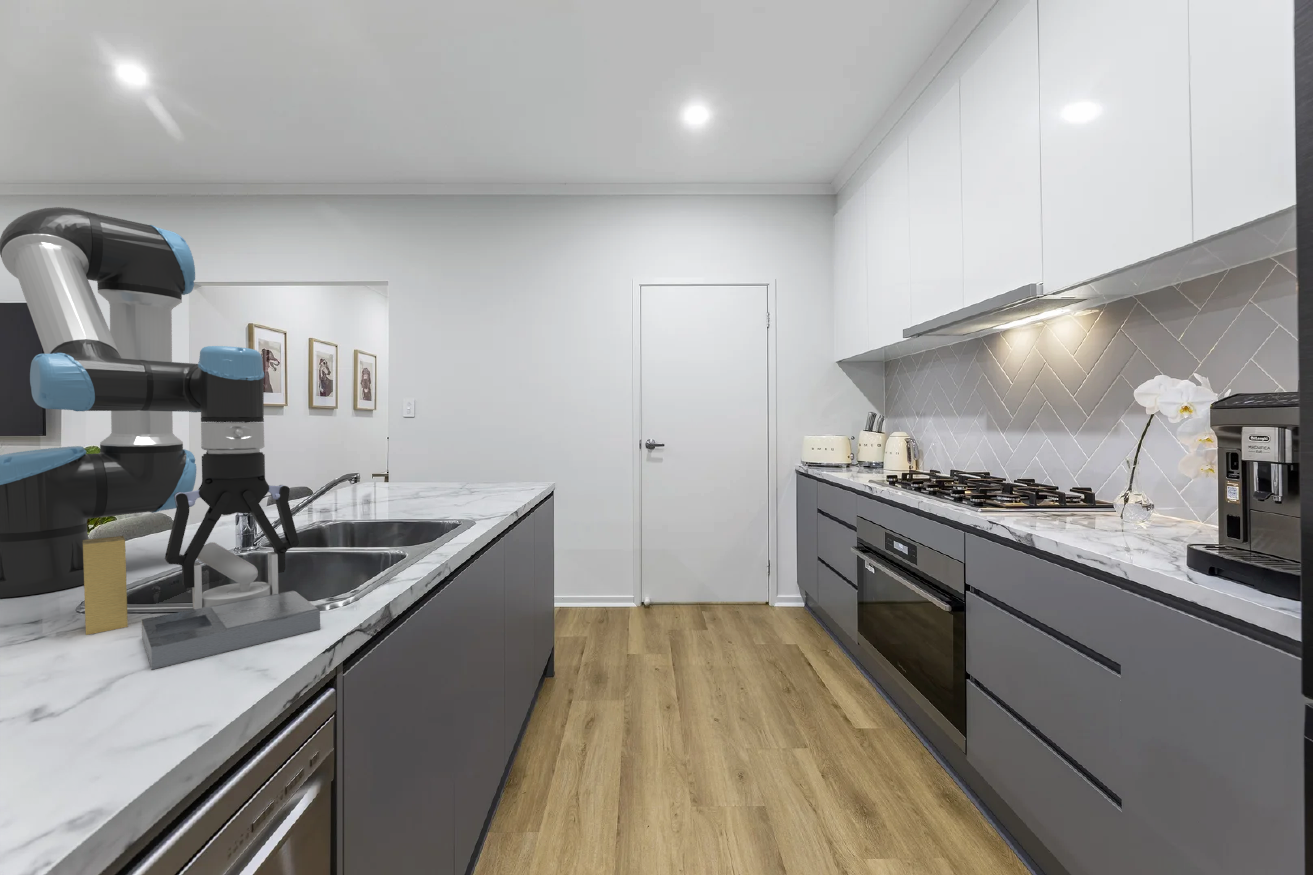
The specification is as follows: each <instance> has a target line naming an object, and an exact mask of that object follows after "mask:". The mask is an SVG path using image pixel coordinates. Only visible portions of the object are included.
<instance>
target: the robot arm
mask: <svg viewBox="0 0 1313 875" xmlns="http://www.w3.org/2000/svg"><path fill="white" fill-rule="evenodd" d="M0 257H1V262H2V264H3V266H4V268H5V269H6V270H7V271H8V272H9V274H11V275H12V276H13V277H15V278H16V279H18V282H19V285H20V288H21V291H22V293H23V296H24V299H25V301H26V305H27V308H28V310H29V314H30V316H31V319H32V322H33V324H34V328H35V330H36V333H37V335H38V339H39V341H40V344H41V346H42V350H43V353H39V354H36V355H35V356H34V357H33V359H32V360H31V363H30V370H29V371H30V372H29V383H30V385H29V386H30V389H31V396H32V399H33V401H34V403H35V404H36V405H37V406H39V407H40V408H43V409H46V410H65V411H66V410H67V411H73V412H104V411H105V412H108V411H109V412H110V419H111V420H110V421H111V422H110V424H111V427H110V428H111V430H110V431H111V433H110V434H109V435H108V436H107V437H105V439H102V440H101V441H100V443H99V450H100V451H99V453H97V452H96V453H87V450H86V449H85V448H84V447H83V446H81V445H78V446H77V445H75V446H62V447H49V448H42V449H41V448H40V449H34V450H33V449H32V450H25V451H18V452H11V453H10V452H9V453H6V454H5V453H4V454H0V599H1V598H2V599H3V598H15V597H21V596H23V597H24V596H30V595H31V596H32V595H37V594H38V595H39V594H44V593H50V592H55V591H60V590H65V589H71V588H75V587H78V586H84V566H83V540H88V539H90V538H89V535H88V519H97V518H107V517H113V516H114V517H115V516H123V515H132V514H143V513H152V514H154V513H158V512H161V511H169V510H174V509H176V510H175V512H174V518H173V522H172V526H171V530H170V535H169V539H168V542H167V543H168V544H167V547H166V550H165V555H164V559H165V561H166V562H167V564H169V565H179V566H181V573H182V574H181V576H182V578H181V579H182V582H181V583H182V585H183V587H184V588H185V589H191V590H192V592H191V594H192V608H193V610H194V609H199V608H202V592H203V588H202V587H203V583H202V580H203V579H202V577H203V576H202V575H203V574H202V564H201V563H200V562H199V561H197V560H198V559H197V557H198V556H199V554H200V552H201V550H202V548H203V546H204V545H206V544H207V540H208V539H209V538H210V535H211V534H212V532H213V530H214V528H215V526H216V525H217V523H218V521H219V520H220V519H221V516H228V515H229V516H230V515H234V514H248V513H249V514H250V515H251V516H252V518H253V520H255V522H256V524H257V525H258V527H259V528H260V531H262V533H263V535H264V536H265V538H266V539H267V542H268V543H269V544H270V546H271V548H272V549H273V551H268V552H267V583H269V584H270V586H271V595H273V594H278V593H279V574H282V573H284V572H285V571H286V552H287V551H288V550H290V549H292V548H296V547H298V546H299V545H300V542H299V537H298V533H297V530H296V526H295V522H294V518H293V514H292V510H291V506H290V504H289V497H290V492H291V490H290V487H289V486H287V485H285V484H279V485H269V484H268V482H267V479H266V464H265V463H266V462H265V460H266V457H265V454H264V452H262V451H260V450H262V449H263V448H265V423H264V422H265V420H264V417H265V416H264V414H265V412H264V409H265V408H264V405H265V404H264V393H265V392H264V388H265V387H264V383H265V382H264V378H265V372H264V365H263V356H262V354H261V352H259V351H258V350H256V349H253V348H248V347H240V346H228V345H224V346H223V345H208V346H204V347H202V348H201V349H200V350H199V360H198V363H193V362H192V363H191V362H189V363H188V362H176V361H173V334H172V332H173V330H172V329H173V328H172V322H173V321H172V319H173V318H172V317H173V316H172V314H173V313H172V312H173V310H174V308H176V307H177V306H179V305H180V304H181V303H183V300H182V297H183V296H185V295H189V294H190V293H192V291H193V289H194V287H195V283H194V282H195V280H196V267H195V261H194V256H193V253H192V250H191V248H190V246H189V244H188V243H187V242H186V240H185V239H184V238H183V237H182V236H181V235H180V234H179V233H176V232H174V231H171V230H168V229H164V228H160V227H157V226H155V225H152V224H146V223H141V222H136V221H131V220H127V219H122V218H117V217H112V216H108V215H103V214H99V213H94V212H91V211H85V210H84V209H78V208H73V207H72V208H71V207H63V206H62V207H61V206H56V207H45V208H41V209H36V210H33V211H28V212H27V213H25V214H22V215H20V216H19V217H16V218H15V219H14V220H12V221H11V222H10V223H8V225H7V226H6V227H5V229H3V231H2V233H1V235H0ZM89 281H93V282H94V281H95V282H96V283H97V293H98V294H99V295H100V296H101V297H103V299H105V300H106V301H107V302H108V304H109V326H108V324H107V321H106V319H105V317H104V314H103V312H102V309H101V307H100V305H99V303H98V300H97V298H96V296H95V293H94V291H93V288H92V287H91V284H90V282H89ZM173 412H187V413H200V431H201V432H200V434H201V435H200V438H201V439H200V441H201V443H200V444H201V445H200V446H201V449H202V450H203V451H206V452H205V453H203V455H201V484H200V486H199V487H198V489H197V490H194V488H195V485H196V479H197V464H196V457H195V455H194V453H193V452H192V451H190V450H187V449H186V448H184V442H183V441H182V440H181V439H180V438H178V437H177V436H176V435H175V434H174V432H173V429H174V428H173V424H174V423H173ZM268 493H269V494H270V497H271V498H272V499H273V500H275V504H276V509H277V513H278V516H279V519H280V523H281V527H282V531H283V535H284V538H285V539H284V540H282V539H281V538H280V536H279V534H278V533H277V531H276V530H275V528H274V526H273V524H272V523H271V521H270V520H269V518H268V517H267V515H266V512H265V511H264V509H263V508H262V507H261V505H260V503H261V502H262V501H263V499H264V498H265V497H266V495H267V494H268ZM198 499H201V500H202V501H203V502H204V503H206V505H208V506H209V507H208V509H207V511H206V513H205V514H204V518H203V519H202V521H201V523H200V525H199V527H198V528H197V530H196V532H195V534H194V536H193V537H192V539H191V540H190V543H189V544H188V546H187V548H186V550H185V552H184V553H183V554H181V549H182V546H183V545H182V544H183V540H184V536H185V533H186V529H187V524H188V521H189V516H190V508H191V507H194V506H195V505H196V501H197V500H198Z"/></svg>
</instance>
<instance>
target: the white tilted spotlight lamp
mask: <svg viewBox="0 0 1313 875" xmlns="http://www.w3.org/2000/svg"><path fill="white" fill-rule="evenodd" d="M196 560H198V561H200V562H202V563H204V564H205V565H207V566H208V567H210V568H212V569H214V570H215V571H216V572H218V573H220V574H222V575H224V576H225V577H227V578H229V579H230V580H232V581H234V582H235V583H230V584H224V585H218V586H216V587H213V588H209V589H207V590H205V591H202V608H204V607H210V606H215V605H220V604H225V603H231V602H236V601H241V600H246V599H252V598H257V597H262V596H267V595H271V586H270V584H269V583H268V582H265V581H256V579H257V578H258V575H259V574H258V573H259V571H258V567H257V566H255V565H254V564H252V563H250V562H249V561H248V560H245V559H244V558H242V557H241V556H238V554H235V553H234V552H232V551H230V550H228V549H227V548H225V547H224V546H222V545H220V544H218V543H217V542H214V541H213V542H208V543H205V545H204V546H203V548H202V550H201V552H200V554H199V556H198V557H197V559H196Z"/></svg>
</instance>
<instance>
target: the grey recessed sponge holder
mask: <svg viewBox="0 0 1313 875" xmlns="http://www.w3.org/2000/svg"><path fill="white" fill-rule="evenodd" d="M140 620H141V621H140V622H141V639H142V644H143V646H144V648H145V652H146V655H147V659H148V662H149V664H150V667H151V670H156V669H160V668H165V667H168V666H173V665H178V664H181V663H185V662H189V661H194V660H198V659H203V658H205V657H210V656H215V655H218V654H219V655H220V654H223V653H227V652H230V651H235V650H239V649H243V648H248V647H252V646H256V645H260V644H264V643H268V642H272V641H276V640H280V639H284V638H288V637H293V636H298V635H301V634H306V633H310V632H314V631H319V630H321V610H319V608H318V607H317V606H315V605H314V604H313V603H311V602H310V601H309V600H307V599H306V598H305V597H304V596H302V595H301V594H299V593H298V592H297V591H295V590H289V591H283V592H278V594H273V595H267V596H262V597H257V598H252V599H246V600H241V601H236V602H231V603H225V604H220V605H215V606H210V607H204V608H199V609H194V608H193V609H190V610H184V611H179V612H174V613H168V614H163V615H159V616H154V617H147V618H142V619H140Z"/></svg>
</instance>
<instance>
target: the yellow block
mask: <svg viewBox="0 0 1313 875" xmlns="http://www.w3.org/2000/svg"><path fill="white" fill-rule="evenodd" d="M126 557H127V556H126V539H125V536H124V535H117V536H109V537H108V536H107V537H98V538H89V539H88V540H83V566H84V584H83V590H84V594H83V595H84V624H85V625H84V626H85V635H86V636H87V635H93V634H98V633H103V632H107V631H113V630H119V629H124V628H128V622H129V621H128V595H127V593H128V591H127V590H128V589H127V561H126V560H127V558H126Z"/></svg>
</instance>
